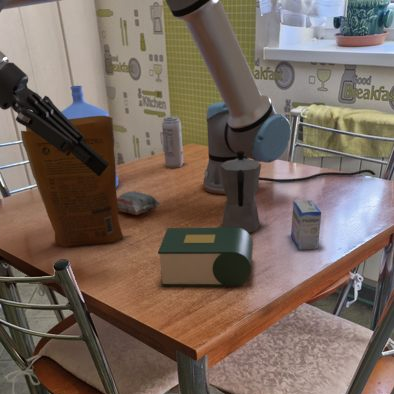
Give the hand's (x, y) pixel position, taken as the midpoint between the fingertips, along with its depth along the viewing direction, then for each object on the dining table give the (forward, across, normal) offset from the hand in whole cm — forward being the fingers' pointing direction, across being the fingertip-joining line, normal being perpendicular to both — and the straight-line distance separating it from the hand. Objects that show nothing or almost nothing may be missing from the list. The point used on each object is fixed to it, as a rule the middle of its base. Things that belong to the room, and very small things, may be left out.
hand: (104, 170), depth 100 cm
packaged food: (+13, -33, -17) cm, 40 cm away
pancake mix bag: (+8, -14, -22) cm, 27 cm away
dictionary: (+29, +2, -1) cm, 29 cm away
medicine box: (+43, -13, +13) cm, 47 cm away
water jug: (0, -55, -30) cm, 62 cm away
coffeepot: (+33, -21, +3) cm, 39 cm away
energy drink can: (+16, -76, -14) cm, 79 cm away
